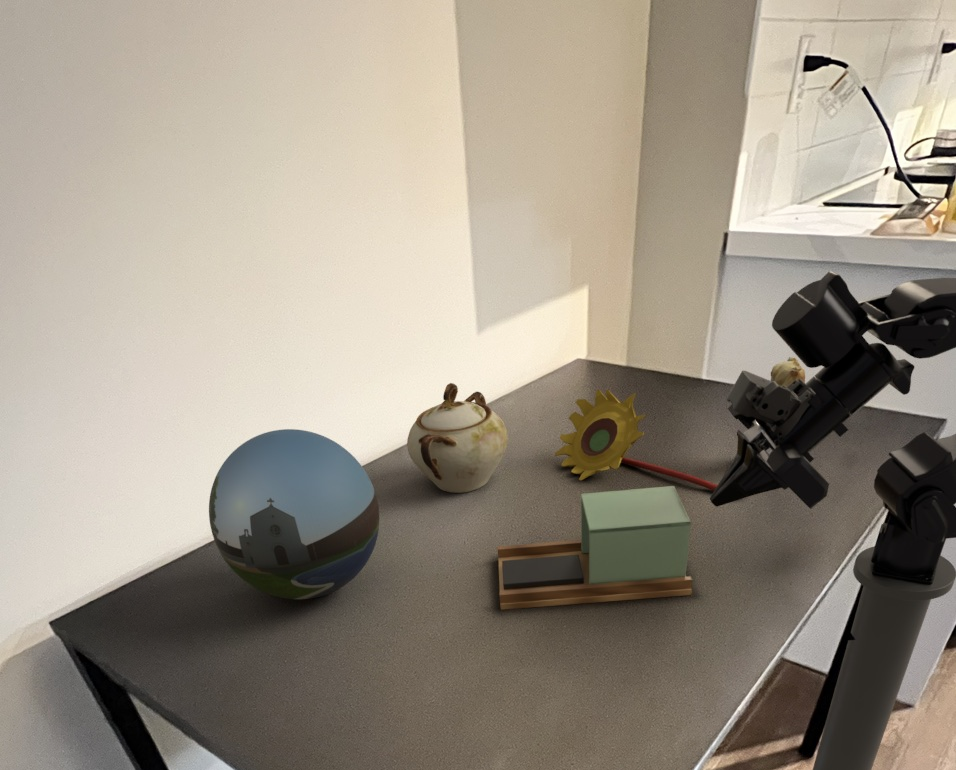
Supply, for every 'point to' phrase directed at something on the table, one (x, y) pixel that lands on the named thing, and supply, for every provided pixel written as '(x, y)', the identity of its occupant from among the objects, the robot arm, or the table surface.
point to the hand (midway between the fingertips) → (712, 502)
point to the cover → (634, 534)
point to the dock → (582, 590)
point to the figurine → (787, 372)
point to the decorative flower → (608, 439)
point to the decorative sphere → (294, 514)
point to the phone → (542, 572)
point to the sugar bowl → (458, 442)
